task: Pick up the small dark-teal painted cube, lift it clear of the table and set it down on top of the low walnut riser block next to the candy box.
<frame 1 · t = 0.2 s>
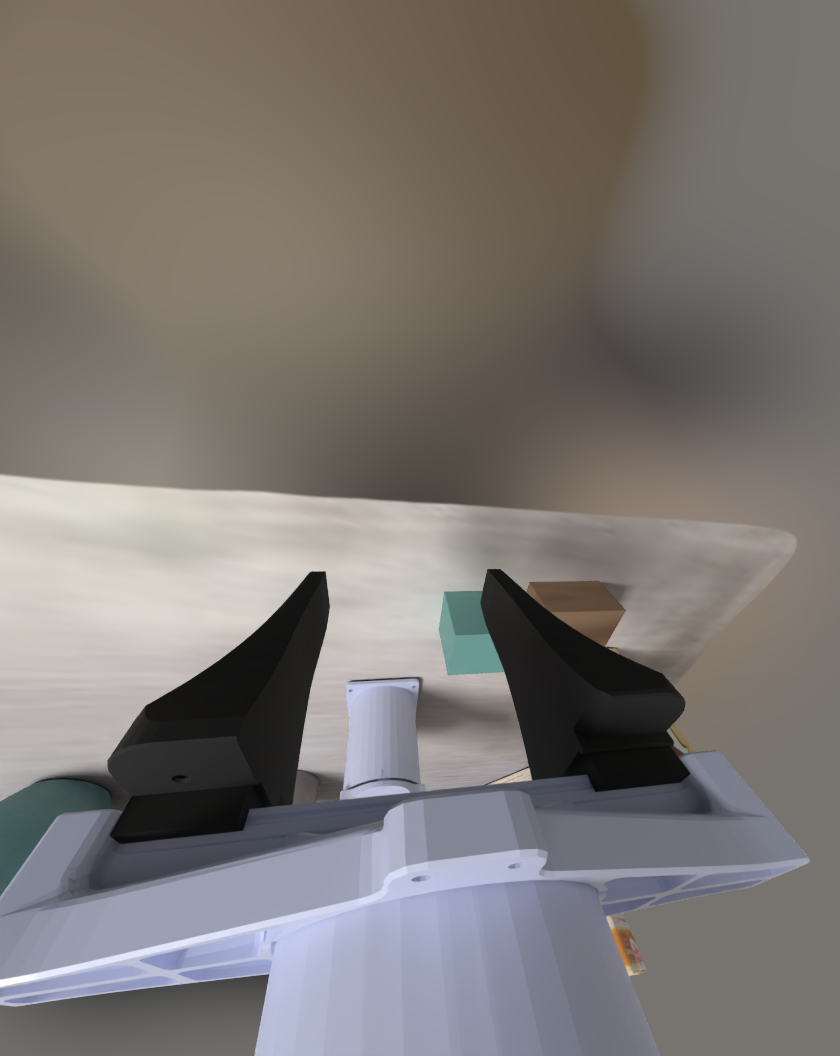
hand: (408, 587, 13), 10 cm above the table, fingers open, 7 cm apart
pillar candle: (285, 781, 43), on the table
candy box: (573, 656, 35), on the table
walnut riser: (552, 606, 30), on the table
teal cube: (466, 610, 29), on the table
plant pot: (73, 790, 39), on the table
coffeecake box: (516, 778, 51), on the table
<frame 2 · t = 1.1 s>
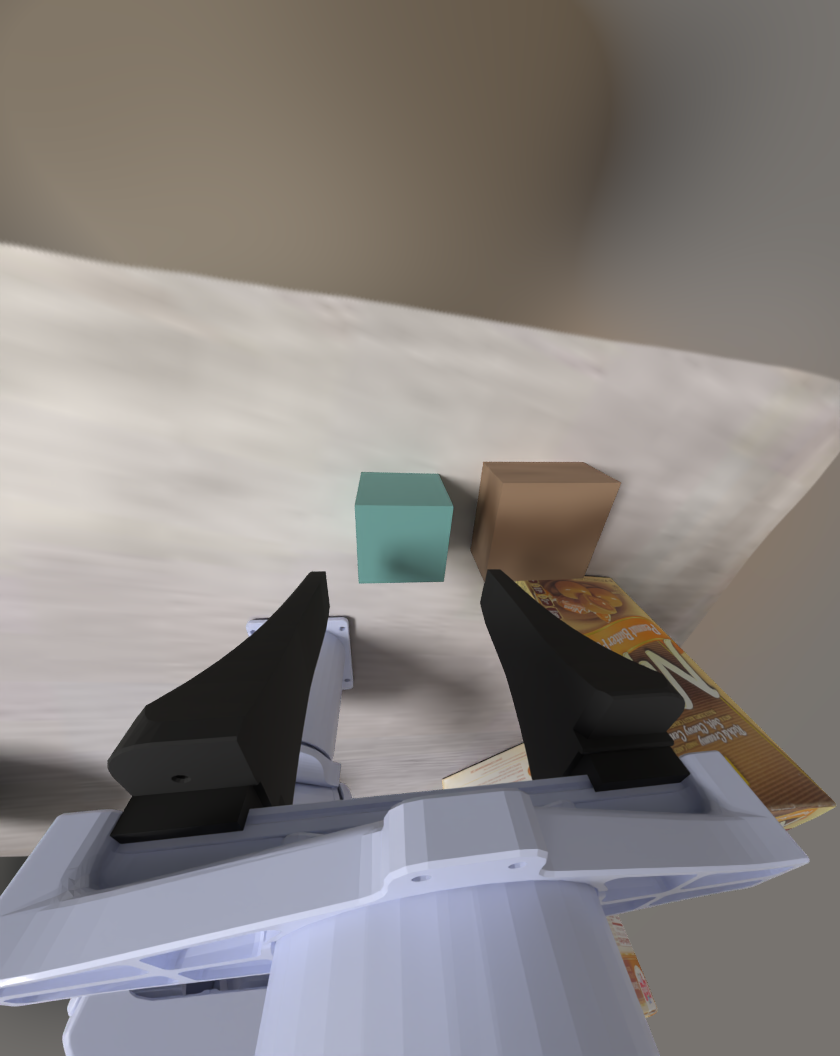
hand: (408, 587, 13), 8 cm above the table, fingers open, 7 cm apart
candy box: (555, 589, 26), on the table
walnut riser: (522, 507, 22), on the table
teal cube: (399, 507, 21), on the table
coffeecake box: (495, 764, 43), on the table
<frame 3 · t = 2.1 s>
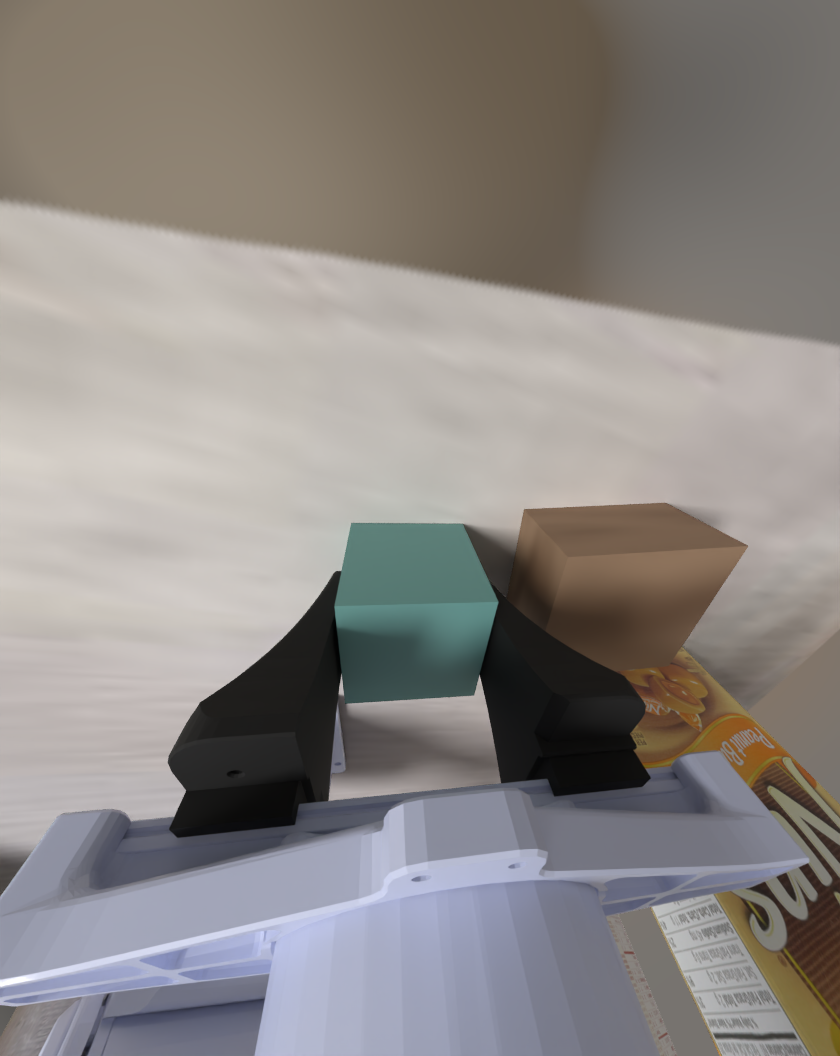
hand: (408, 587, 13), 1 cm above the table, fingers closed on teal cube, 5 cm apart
pillar candle: (167, 846, 29), on the table
candy box: (605, 656, 20), on the table
walnut riser: (574, 563, 16), on the table
teal cube: (406, 568, 15), on the table, touching gripper
coffeecake box: (513, 828, 37), on the table
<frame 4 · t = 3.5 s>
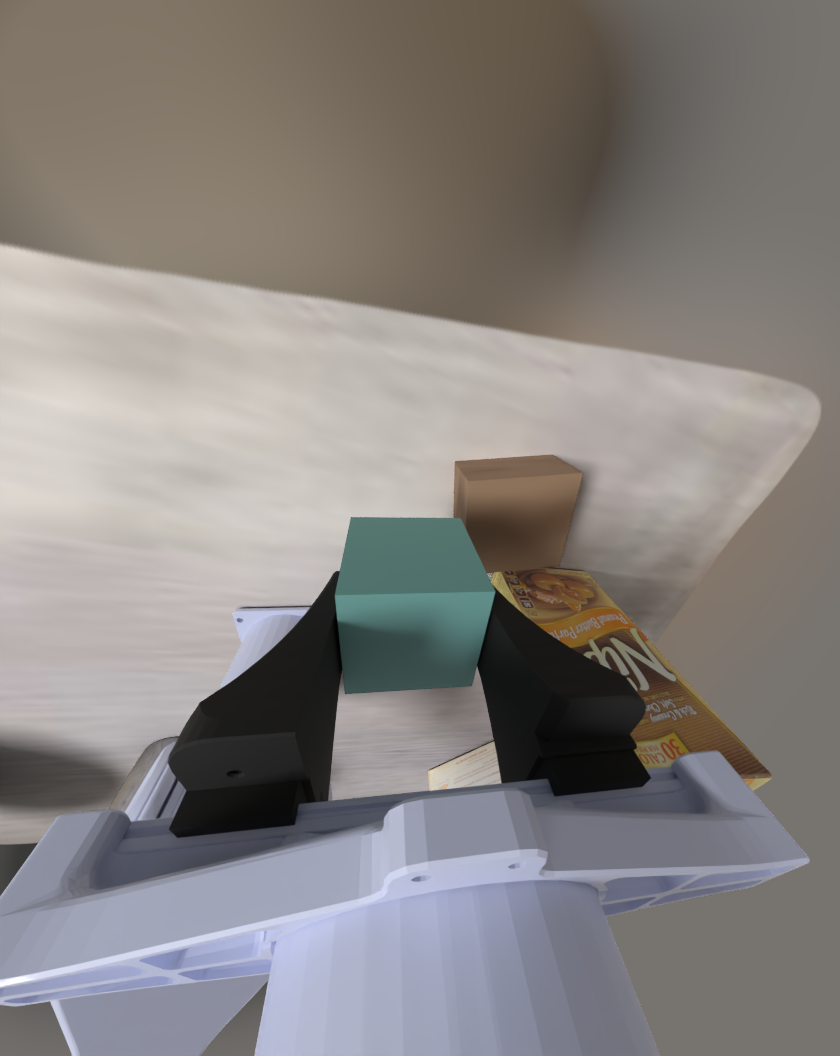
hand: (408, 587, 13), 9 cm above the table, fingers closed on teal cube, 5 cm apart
pillar candle: (192, 754, 36), on the table
candy box: (533, 582, 27), on the table
walnut riser: (498, 501, 23), on the table
teal cube: (404, 562, 15), point 8 cm above the table, touching gripper
coffeecake box: (480, 756, 44), on the table
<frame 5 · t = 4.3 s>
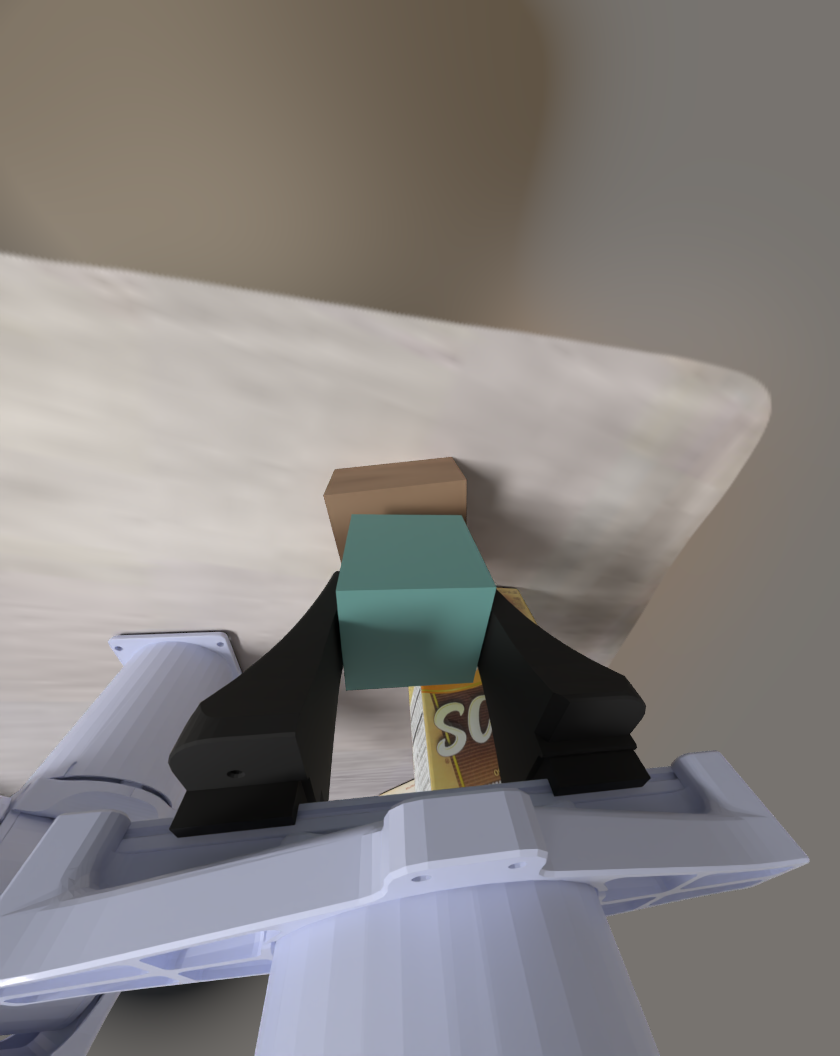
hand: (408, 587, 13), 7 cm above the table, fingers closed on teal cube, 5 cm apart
candy box: (458, 601, 24), on the table
walnut riser: (400, 513, 20), on the table
teal cube: (405, 559, 15), point 5 cm above the table, touching gripper
when the fingers open (6 cm above the table, at t = 5.0 s): teal cube stays where it is, resting on walnut riser.
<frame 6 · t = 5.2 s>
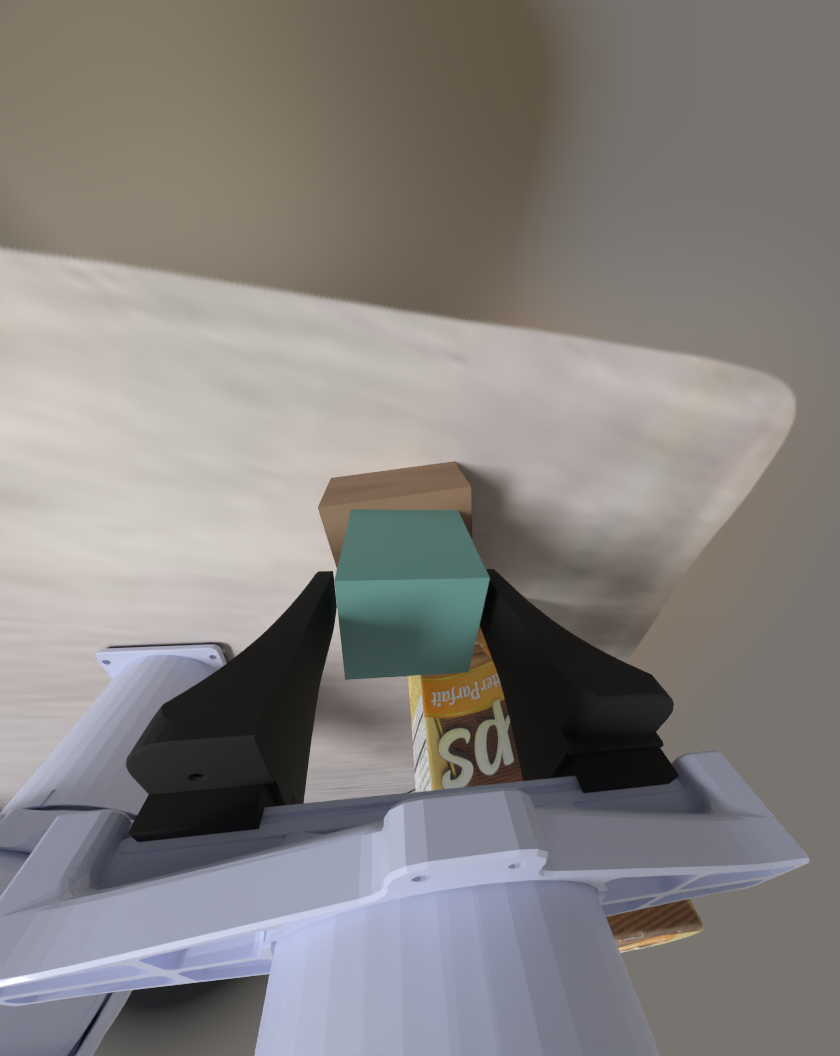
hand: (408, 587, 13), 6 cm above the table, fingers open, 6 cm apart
candy box: (462, 611, 23), on the table
walnut riser: (401, 521, 19), on the table, touching teal cube
teal cube: (403, 553, 15), point 4 cm above the table, touching walnut riser
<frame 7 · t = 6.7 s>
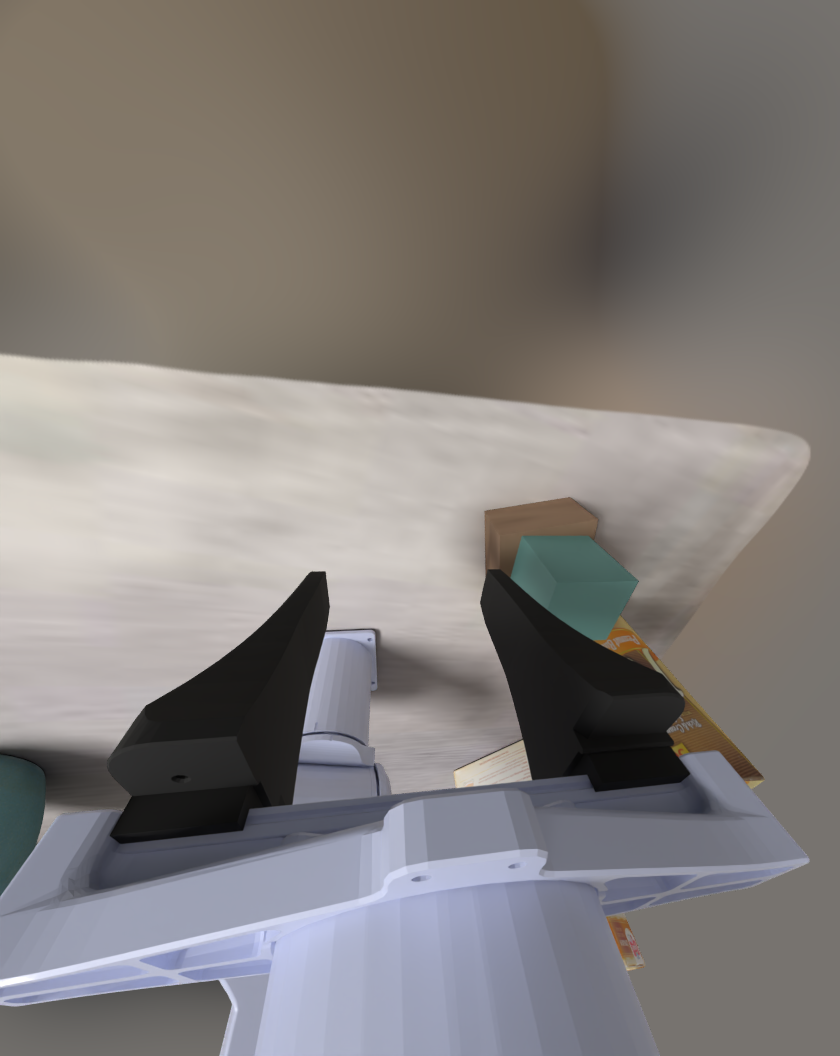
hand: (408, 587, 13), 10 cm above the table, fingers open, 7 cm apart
candy box: (552, 603, 30), on the table
walnut riser: (523, 538, 26), on the table, touching teal cube
teal cube: (545, 563, 22), point 4 cm above the table, touching walnut riser
plant pot: (2, 768, 35), on the table
coffeecake box: (502, 757, 47), on the table
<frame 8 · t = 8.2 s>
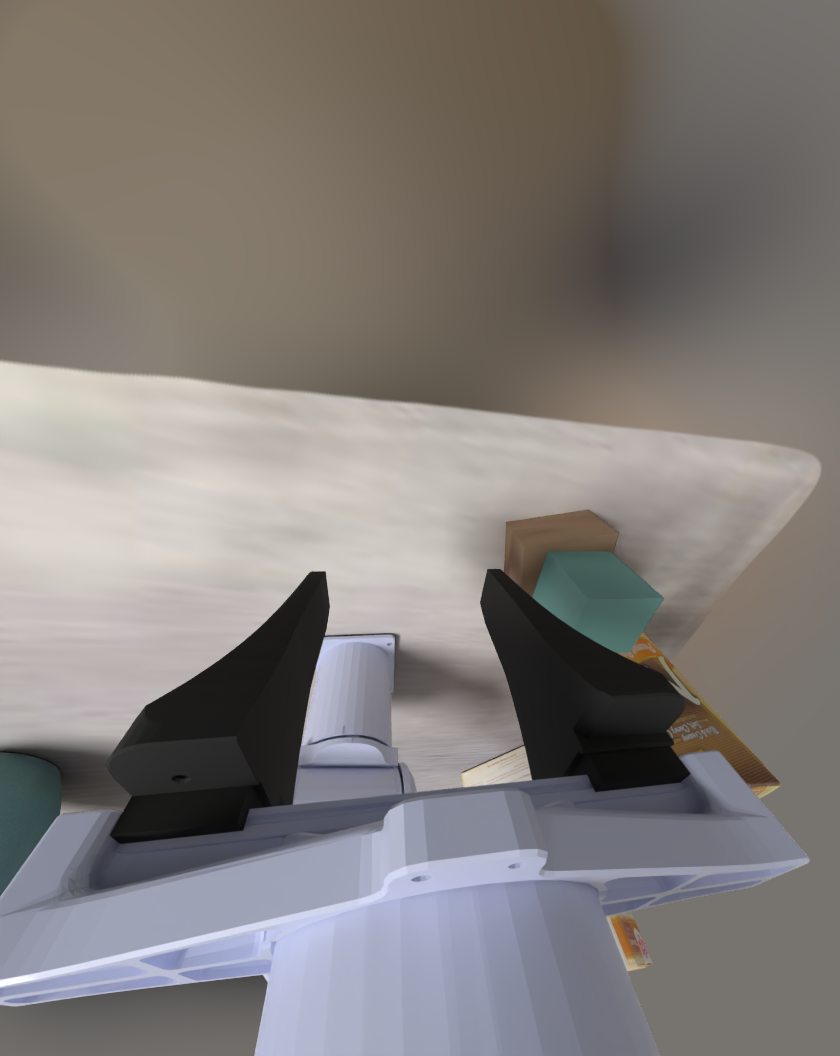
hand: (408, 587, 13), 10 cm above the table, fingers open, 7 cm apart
candy box: (567, 610, 31), on the table
walnut riser: (541, 548, 27), on the table
teal cube: (569, 577, 23), point 4 cm above the table
plant pot: (19, 767, 35), on the table
coffeecake box: (509, 760, 48), on the table
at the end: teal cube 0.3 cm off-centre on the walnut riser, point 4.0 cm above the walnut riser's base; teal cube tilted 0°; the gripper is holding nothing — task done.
